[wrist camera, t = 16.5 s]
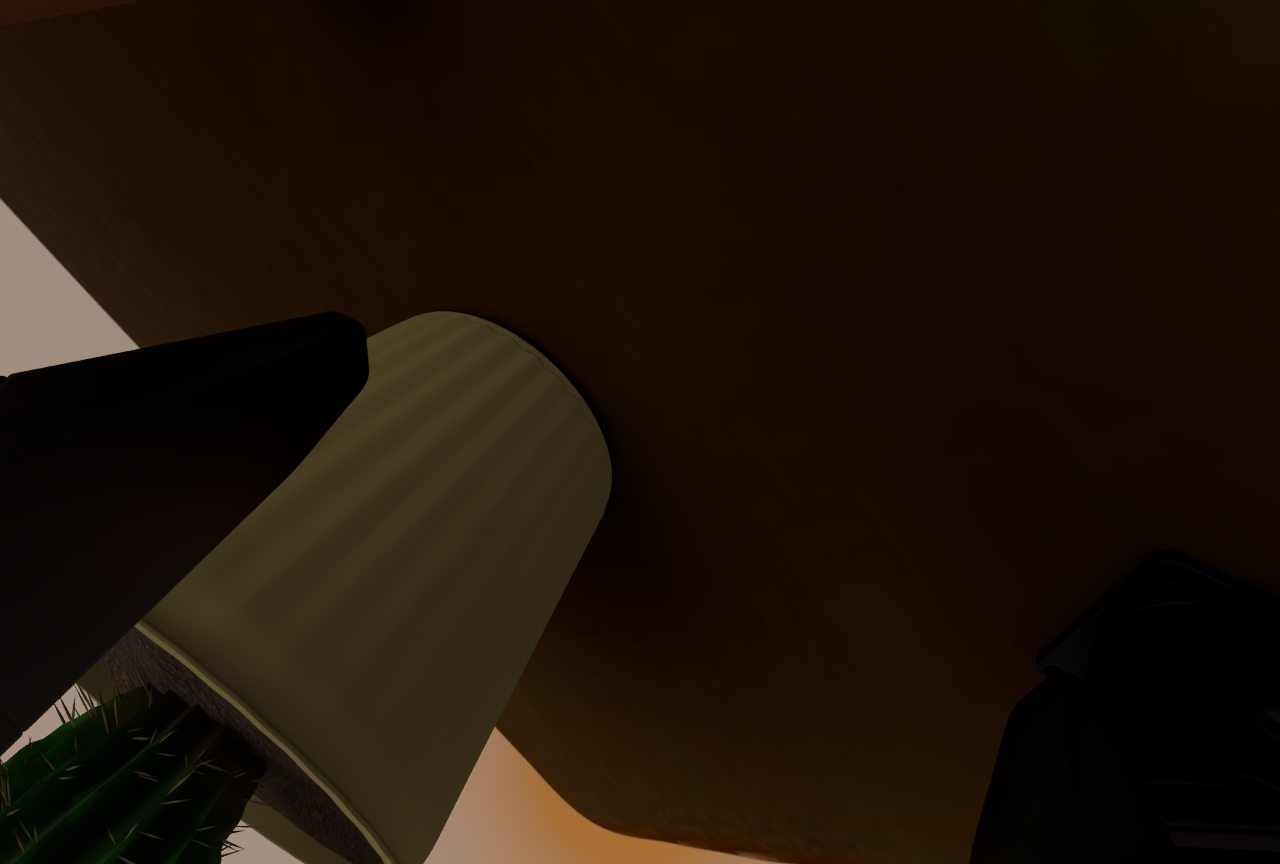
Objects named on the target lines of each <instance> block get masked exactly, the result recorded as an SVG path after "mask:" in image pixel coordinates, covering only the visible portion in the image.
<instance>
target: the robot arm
mask: <svg viewBox="0 0 1280 864" xmlns="http://www.w3.org/2000/svg"><path fill="white" fill-rule="evenodd" d="M368 377H369V359H368V348H367V338H366V331H365V328H364V327H363V325H362V324H361V323H360V322H358V321H356V320H354V319H352V318H350V317H348V316H346V315H344V314H342V313H339V312H334V311H331V312H325V313H320V314H314V315H309V316H304V317H299V318H294V319H289V320H284V321H279V322H274V323H269V324H264V325H258V326H253V327H248V328H243V329H238V330H233V331H228V332H223V333H218V334H213V335H208V336H202V337H197V338H192V339H187V340H182V341H177V342H172V343H167V344H162V345H156V346H151V347H146V348H141V349H136V350H131V351H126V352H121V353H116V354H111V355H106V356H100V357H95V358H91V359H85V360H80V361H75V362H70V363H65V364H60V365H55V366H49V367H44V368H39V369H34V370H29V371H24V372H19V373H14V374H11V375H9V376H8V377H5V376H0V756H1V755H2V754H3V753H5V752H6V750H8V749H9V748H10V747H11V746H12V745H13V744H14V743H15V742H16V741H17V740H18V739H19V738H20V737H21V736H22V734H23V732H24V731H26V730H28V729H29V728H30V727H31V726H32V725H33V724H34V723H35V722H36V721H37V720H38V719H39V718H40V717H41V716H42V715H43V714H44V713H45V712H46V711H47V710H48V709H49V708H50V707H51V706H52V705H53V704H55V702H57V701H58V700H59V699H60V698H61V697H62V696H63V695H64V694H65V693H66V692H67V691H68V690H69V689H70V688H71V687H72V686H73V685H74V684H75V683H76V682H77V681H78V680H79V679H80V678H81V677H82V676H83V675H84V674H85V673H87V672H88V671H89V670H90V669H91V668H92V667H93V666H94V665H95V664H96V663H97V662H98V661H99V660H100V659H101V658H102V657H103V656H104V655H105V654H106V653H107V652H108V651H109V650H110V649H111V648H112V647H113V646H114V645H115V644H116V643H117V642H119V641H120V640H121V639H122V638H123V637H124V636H125V635H126V634H127V633H128V632H129V631H130V630H131V629H132V628H133V627H134V626H135V625H136V624H137V623H138V622H139V621H140V620H141V619H142V618H143V617H144V616H145V615H146V614H147V613H148V612H149V611H151V610H152V609H153V608H154V607H155V606H156V605H157V604H158V603H159V602H160V601H161V600H162V599H163V598H164V597H165V596H166V595H167V594H168V593H169V592H170V591H171V590H172V589H173V588H174V587H175V586H176V585H177V584H178V583H179V582H180V581H181V580H183V579H184V578H185V577H186V576H187V575H188V574H189V573H190V572H191V571H192V570H193V569H194V568H195V567H196V566H197V565H198V564H199V563H200V562H201V561H202V560H203V559H204V558H205V557H206V556H207V555H208V554H209V553H210V552H211V551H212V550H213V549H215V548H216V547H217V546H218V545H219V544H220V543H221V542H222V541H223V540H224V539H225V538H226V537H227V536H228V535H229V534H230V533H231V532H232V531H233V530H234V529H235V528H236V527H237V526H238V525H239V524H240V523H241V522H242V521H243V520H244V519H245V518H247V517H248V516H249V515H250V514H251V513H252V512H253V511H254V510H255V509H256V508H257V507H258V506H259V505H260V504H261V503H262V502H263V501H264V500H265V499H266V498H267V497H268V496H269V495H270V494H271V493H272V492H273V491H274V490H275V489H276V488H277V487H279V486H280V485H281V484H282V483H283V482H284V481H285V480H286V479H287V477H288V476H289V475H290V474H291V473H292V472H293V471H294V470H295V469H296V468H297V467H298V466H299V465H300V464H301V462H302V461H303V460H304V459H305V458H306V457H307V456H308V454H309V453H310V452H311V451H312V450H313V448H314V447H315V446H316V445H317V444H318V442H319V441H320V440H321V439H322V438H323V436H324V435H325V434H326V433H327V432H328V430H329V429H330V428H331V427H332V426H333V424H334V423H335V422H336V421H337V420H338V418H339V417H340V416H341V415H342V414H343V412H344V411H345V410H346V409H347V408H348V406H349V405H350V404H351V403H352V402H353V400H354V399H355V398H356V397H357V396H358V394H359V393H360V392H361V391H362V389H363V388H364V386H365V385H366V383H367V380H368ZM1164 568H1173V569H1177V570H1176V571H1172V572H1168V571H1164V570H1162V569H1164ZM1053 666H1056V667H1053ZM1036 671H1037V673H1038V674H1039V675H1040V676H1042V677H1043V678H1045V680H1044V681H1042V682H1041V683H1040V684H1039V685H1038V686H1036V687H1035V688H1034V689H1033V690H1032V691H1031V692H1029V693H1028V694H1027V695H1026V696H1025V697H1023V698H1022V699H1021V700H1020V701H1019V702H1018V703H1017V704H1016V705H1015V707H1014V708H1013V710H1012V711H1011V713H1010V716H1009V718H1008V721H1007V724H1006V727H1005V731H1004V735H1003V738H1002V742H1001V745H1000V749H999V752H998V756H997V759H996V763H995V766H994V770H993V774H992V777H991V781H990V784H989V788H988V791H987V795H986V798H985V802H984V806H983V809H982V813H981V816H980V820H979V823H978V827H977V831H976V835H975V839H974V843H973V847H972V852H971V857H970V863H969V864H1280V598H1278V597H1276V596H1274V595H1272V594H1270V593H1268V592H1265V591H1263V590H1261V589H1256V588H1253V587H1251V586H1249V585H1247V584H1245V583H1243V582H1240V581H1238V580H1236V579H1234V578H1232V577H1230V576H1228V575H1225V574H1223V573H1221V572H1219V571H1217V570H1215V569H1212V568H1210V567H1208V566H1206V565H1204V564H1202V563H1200V562H1197V561H1195V560H1193V559H1191V558H1189V557H1187V556H1185V555H1182V554H1179V553H1176V552H1170V551H1163V552H1158V553H1156V554H1154V555H1152V556H1150V557H1149V558H1148V559H1147V560H1146V561H1145V562H1144V563H1142V564H1141V565H1140V566H1139V567H1138V568H1137V569H1135V570H1134V571H1133V572H1132V573H1131V574H1130V575H1129V576H1127V577H1126V578H1125V579H1124V580H1123V581H1122V582H1121V583H1119V584H1118V585H1117V586H1116V587H1115V588H1114V589H1113V590H1111V591H1110V592H1109V593H1108V594H1107V595H1106V596H1104V597H1103V598H1102V599H1101V600H1100V601H1099V602H1098V603H1096V604H1095V605H1094V606H1093V607H1092V608H1091V609H1090V610H1088V611H1087V612H1086V613H1085V614H1084V615H1083V616H1082V617H1080V618H1079V619H1078V620H1077V621H1076V622H1075V623H1073V624H1072V625H1071V626H1070V627H1069V628H1068V629H1067V630H1065V631H1064V632H1063V633H1062V634H1061V635H1060V636H1059V637H1057V638H1056V639H1055V640H1054V641H1053V642H1052V643H1051V644H1049V645H1048V646H1047V647H1046V648H1045V649H1044V650H1042V651H1041V652H1040V653H1039V654H1038V656H1037V658H1036Z"/></svg>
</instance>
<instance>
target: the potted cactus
mask: <svg viewBox="0 0 1280 864" xmlns="http://www.w3.org/2000/svg"><path fill="white" fill-rule="evenodd" d="M367 348H368V359H369V377H368V380H367V383H366V385H365V386H364V388H363V389H362V391H361V392H360V393H359V394H358V396H357V397H356V398H355V399H354V400H353V402H352V403H351V404H350V405H349V406H348V408H347V409H346V410H345V411H344V412H343V414H342V415H341V416H340V417H339V418H338V420H337V421H336V422H335V423H334V424H333V426H332V427H331V428H330V429H329V430H328V432H327V433H326V434H325V435H324V436H323V438H322V439H321V440H320V441H319V442H318V444H317V445H316V446H315V447H314V448H313V450H312V451H311V452H310V453H309V454H308V456H307V457H306V458H305V459H304V460H303V461H302V462H301V464H300V465H299V466H298V467H297V468H296V469H295V470H294V471H293V472H292V473H291V474H290V475H289V476H288V477H287V479H286V480H285V481H284V482H283V483H282V484H281V485H280V486H279V487H277V488H276V489H275V490H274V491H273V492H272V493H271V494H270V495H269V496H268V497H267V498H266V499H265V500H264V501H263V502H262V503H261V504H260V505H259V506H258V507H257V508H256V509H255V510H254V511H253V512H252V513H251V514H250V515H249V516H248V517H247V518H245V519H244V520H243V521H242V522H241V523H240V524H239V525H238V526H237V527H236V528H235V529H234V530H233V531H232V532H231V533H230V534H229V535H228V536H227V537H226V538H225V539H224V540H223V541H222V542H221V543H220V544H219V545H218V546H217V547H216V548H215V549H213V550H212V551H211V552H210V553H209V554H208V555H207V556H206V557H205V558H204V559H203V560H202V561H201V562H200V563H199V564H198V565H197V566H196V567H195V568H194V569H193V570H192V571H191V572H190V573H189V574H188V575H187V576H186V577H185V578H184V579H183V580H181V581H180V582H179V583H178V584H177V585H176V586H175V587H174V588H173V589H172V590H171V591H170V592H169V593H168V594H167V595H166V596H165V597H164V598H163V599H162V600H161V601H160V602H159V603H158V604H157V605H156V606H155V607H154V608H153V609H152V610H151V611H149V612H148V613H147V614H146V615H145V616H144V617H143V618H142V619H141V620H140V621H139V622H138V623H137V624H136V625H135V626H134V627H133V628H132V629H131V630H130V631H129V632H128V633H127V634H126V635H125V636H124V637H123V638H122V639H121V640H120V641H119V642H117V643H116V644H115V645H114V646H113V647H112V648H111V649H110V650H109V651H108V652H107V653H106V654H105V655H104V656H103V657H102V658H101V659H100V660H99V661H98V662H97V663H96V664H95V665H94V666H93V667H92V668H91V669H90V670H89V671H88V672H87V673H85V674H84V675H83V676H82V677H81V678H80V679H79V680H78V681H77V682H76V684H77V685H78V687H79V689H80V691H81V693H82V695H83V697H84V698H85V700H86V702H87V703H88V705H89V706H90V708H91V709H90V710H88V709H87V707H86V704H85V702H84V701H83V699H82V697H81V696H80V694H79V692H78V694H79V696H80V698H81V700H82V702H83V705H84V706H85V708H86V710H87V712H85V713H84V714H82V715H81V716H80V715H79V714H78V713H77V714H78V716H79V717H77V718H75V719H74V715H75V710H76V709H75V700H74V705H73V712H72V717H71V715H70V713H69V711H68V710H67V708H66V706H65V705H64V703H63V701H62V699H61V698H60V699H61V702H62V704H63V706H64V709H65V711H66V713H67V716H68V718H69V719H70V721H69V722H67V723H65V720H64V718H63V717H62V715H61V713H60V712H59V710H58V709H57V707H56V705H55V704H54V705H55V708H56V710H57V712H58V714H59V716H60V719H61V721H62V723H63V725H61V726H60V727H59V728H57V729H56V730H55V731H53V732H52V733H51V734H49V735H48V736H47V737H45V738H44V739H41V740H38V741H35V742H32V743H31V740H30V742H29V744H28V745H26V746H25V747H23V748H22V749H20V750H19V751H18V752H17V753H16V754H15V755H13V756H12V757H11V758H10V759H9V760H8V761H6V762H5V763H3V762H2V761H1V759H0V864H221V857H224V856H227V855H229V854H232V853H235V852H238V851H235V852H232V853H228V854H224V855H221V851H222V850H224V849H226V848H228V847H229V846H227V845H226V844H229V845H230V846H231V845H232V846H236V847H239V846H237V845H235V844H233V843H230V842H229V841H227V840H226V839H227V838H228V836H229V835H230V834H232V833H236V832H240V831H233V830H234V829H235V827H251V828H253V829H254V830H255V831H257V832H258V833H259V834H261V835H262V836H264V837H265V838H266V839H268V840H269V841H271V842H272V843H274V844H275V845H277V846H279V847H280V848H281V849H283V850H285V851H286V852H287V853H289V854H290V855H292V856H293V857H295V858H296V859H298V860H299V861H301V862H303V863H304V864H423V863H424V862H425V860H426V859H427V857H428V856H429V854H430V852H431V850H432V849H433V847H434V845H435V844H436V842H437V840H438V838H439V836H440V834H441V832H442V830H443V828H444V826H445V824H446V822H447V820H448V818H449V816H450V814H451V812H452V810H453V808H454V806H455V804H456V802H457V800H458V798H459V796H460V794H461V792H462V790H463V788H464V786H465V784H466V782H467V780H468V778H469V776H470V774H471V772H472V770H473V768H474V766H475V764H476V762H477V760H478V758H479V756H480V754H481V752H482V750H483V748H484V747H485V744H486V742H487V741H488V739H489V737H490V735H491V733H492V731H493V729H494V727H495V725H496V723H497V721H498V719H499V717H500V715H501V713H502V711H503V709H504V707H505V705H506V703H507V701H508V699H509V697H510V695H511V694H512V692H513V690H514V688H515V686H516V684H517V682H518V680H519V678H520V676H521V674H522V672H523V670H524V668H525V666H526V664H527V662H528V660H529V658H530V656H531V654H532V652H533V650H534V649H535V647H536V645H537V643H538V641H539V639H540V637H541V635H542V633H543V631H544V629H545V627H546V625H547V623H548V621H549V619H550V617H551V615H552V613H553V611H554V609H555V607H556V606H557V604H558V602H559V600H560V598H561V596H562V594H563V592H564V590H565V588H566V586H567V584H568V582H569V580H570V578H571V576H572V574H573V572H574V570H575V568H576V566H577V565H578V563H579V561H580V559H581V557H582V555H583V553H584V551H585V549H586V547H587V545H588V543H589V541H590V539H591V537H592V535H593V533H594V531H595V529H596V527H597V525H598V524H599V522H600V520H601V518H602V516H603V514H604V512H605V506H606V504H607V502H608V499H609V495H610V492H611V486H612V467H611V461H610V456H609V452H608V448H607V445H606V442H605V439H604V437H603V434H602V432H601V429H600V427H599V425H598V423H597V421H596V419H595V417H594V415H593V414H592V412H591V410H590V409H589V407H588V405H587V404H586V402H585V401H584V399H583V398H582V396H581V395H580V394H579V392H578V391H577V390H576V389H575V387H574V386H573V385H572V384H571V382H570V381H569V380H568V379H567V378H566V377H565V375H564V374H563V373H562V372H561V371H560V370H559V369H558V368H557V367H556V366H555V365H554V364H553V363H552V362H550V361H549V360H548V359H547V358H546V357H545V356H544V355H543V354H542V353H540V352H539V351H538V350H537V349H535V348H534V347H533V346H531V345H530V344H528V343H527V342H526V341H524V340H523V339H521V338H520V337H518V336H517V335H515V334H513V333H512V332H510V331H508V330H506V329H504V328H502V327H500V326H498V325H496V324H494V323H492V322H490V321H487V320H484V319H481V318H478V317H475V316H472V315H468V314H464V313H457V312H448V311H440V312H431V313H425V314H422V315H416V316H414V317H412V318H410V319H408V320H406V321H404V322H400V323H398V324H396V325H394V326H392V327H390V328H388V329H386V330H384V331H382V332H380V333H377V334H375V335H373V336H371V337H369V338H367ZM82 689H83V690H84V691H85V692H86V693H87V694H88V696H89V699H90V702H91V705H92V707H93V708H92V707H91V705H90V703H89V701H88V699H87V697H86V696H85V694H84V692H83V691H82ZM76 690H77V689H76ZM90 697H91V698H92V699H93V700H94V701H96V702H97V705H98V704H99V706H97V707H94V705H93V702H92V700H91V698H90ZM76 712H77V711H76ZM29 739H30V738H29ZM1 762H2V765H1ZM240 820H241V821H243V822H244V823H245V824H247V825H248V826H237V825H238V823H239V821H240ZM224 843H226V844H224ZM223 845H224V846H226V847H225V848H223V849H222V846H223ZM229 848H231V847H229ZM239 848H241V847H239ZM231 849H233V848H231Z"/></svg>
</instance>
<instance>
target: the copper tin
mask: <svg viewBox="0 0 1280 864" xmlns="http://www.w3.org/2000/svg"><path fill="white" fill-rule="evenodd" d="M140 1H146V0H0V26H1V25H7V24H13V23H19V22H24V21H30V20H36V19H42V18H48V17H53V16H59V15H65V14H71V13H76V12H82V11H88V10H94V9H100V8H105V7H111V6H117V5H123V4H129V3H134V2H140Z"/></svg>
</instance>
